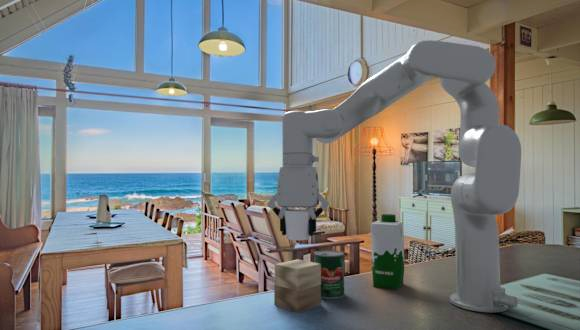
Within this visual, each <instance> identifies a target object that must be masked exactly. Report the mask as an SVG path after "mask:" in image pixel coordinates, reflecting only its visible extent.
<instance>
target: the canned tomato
mask: <svg viewBox="0 0 580 330" xmlns="http://www.w3.org/2000/svg"><path fill="white" fill-rule="evenodd" d="M313 254H314V255H313V257H314V259H313V260H314V261H313V262H314V263H319V264H321V299H325V300H337V299H342V298H344V297H345V260H344V259H345V258H344V255H345V253H344V251H339V250H332V249H331V250H329V249H328V250H325V249H324V250H316V251H314V252H313Z"/></svg>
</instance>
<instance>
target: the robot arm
mask: <svg viewBox="0 0 580 330" xmlns="http://www.w3.org/2000/svg"><path fill="white" fill-rule="evenodd" d="M496 63H497V62H496V59H495V57H494V55H493V54H492V53H491V51H489V50H487V49H486V48H484V47H480V46H477V45H472V44H465V43H464V44H463V43H456V42H448V41H443V40H441V41H440V40H430V39H429V40H422V41H418V42H416V43H414V44H413V45H412V46H411V47H410V48H409V49H408V50H407V52H406V53H405V54H404V55H402V57H400V58H398V59H396V60H395V61H394V62H392V63H390V64H389V65H388V66H386V67H384V68H383V69H382V70H381V71H378V72H377V73H375V74H374V75H373V76H371V77H369V78H368V79H366V80H365V81H364V82H362V84H360V86H359V87H358V88H356V90H355V91H354V92H353V93H352V94H351V95H350V96H348V98H346V99H345V100H344V101H342V102H341V103H340V104H338V105H337V106H335V107H334V108H333V109H332V108H324V109H318V110H311V111H305V110H291V111H287V112H285V113H284V114H283V116H282V167H279V170H278V171H279V172H278V177H277V186H276V187H277V188H276V193H275V194H274V195H273V197H271V198H270V199H269V200H268V202H266V205H267V207H269V208H270V209H271V210H272V211H273V212H274V214H275V215H276V216H277V217H278V219H279V230H280V232H281V235H282V236H286V225H285V216H284V214H285V210H287V209H290V208H292V209H306V208H307V209H308V211H309V213H310V216H311V217H310V220H309V235H310V237H313V236H314V234H315V233H317V218H318V217H319V216H320V215H321V214H322V213H323V212H324V211H325V210H326V209H327V208H328V207H329V206H330V202H329V201H328V200H327V199H326V197H324V196H323V195H322V194H321V193H320V185H319V175H318V169H317V167H316V166H314V164H315V163H317V162H318V163H319V161H320V158H319V156H316V155H314V151H313V149H314V148H313V147H314V145H313V144H314V142H313V141H314V139H315V140H316V141H318V142H320V143H322V144H332V143H334V142H336V141H337V140H338V139H341V137H343V136H344V135H346V134H348V133H349V132H351V131H353V130H354V129H355V128H357V127H358V126H360V125H361V124H363V123H364V122H366V121H367V120H370V118H372V117H374V116H377V115H378V114H379V113H382V112H383V111H384V110H386V109H387V108H389V107H390V106H392V105H393V104H395V103H396V102H398V101H400V100H401V99H402V98H404V97H405V96H407V95H409V94H410V93H412V92H413V91H415V90H416V89H418V88H419V87H421V86H422V85H423V84H425V83H426V82H427V81H429V80H430V79H431V78H438V79H439V82H440V85H441V87H442V89H443V90H444V91H445V92H446V93H447V94H448V95H450V96H451V97H452V98H453V99H454V100H455V101H456V103H457V105H458V107H459V111H460V124H459V139H458V156H459V159H460V161H461V162H462V163H463V164H464V165H466V166H468V167H470V168H471V167H472V168H474V169H475V171H474V172H471V173H465V174H463V175H460V176H459V177H458V178H456V180H455V181H454V183H452V186H451V189H450V201H451V207H452V211H453V212H452V214H453V220H454V240H455V241H454V245H455V248H454V249H455V275H456V276H455V277H456V278H455V279H456V282H455V283H456V284H455V285H456V292H455V293H452V294H450V296H449V301H450V303H451V304H453V305H454V306H456V307H458V308H460V309H461V308H462V309H464V310H467V311H472V312H478V313H489V314H490V313H491V314H492V313H503V312H505V311H508V310H509V307H510V308H514V309H516V308H517V307H518V304H519V303H518V298H517V296H514V295H509V294H508V295H507V293H506V287H502V286H501V266H500V264H501V263H500V235H499V234H500V232H499V225H498V221H497V217H496V216H500V215H503V214H506V213H508V212H509V211H511V210H512V209H513V208H514V206H516V204H517V201H518V197H519V192H520V179H521V165H522V163H521V162H522V145H521V144H522V143H521V142H520V139H519V135H518V134H517V133H516V132H515V130H513V129H512V128H511V127H510V126H508V125H506V124H502V123H500V106H499V101H498V99H497V96H496V95H495V92H493V89H491V88H490V86H488V84H487V83H486V82H487V81H489V80H490V79H491V78H492V77H493V75H494V74H495V71H496V66H497V64H496ZM319 203H321V205H320V206H319V208H317V209H316V208H315V207H317V206H318V205H319Z"/></svg>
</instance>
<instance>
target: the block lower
mask: <svg viewBox="0 0 580 330" xmlns="http://www.w3.org/2000/svg"><path fill="white" fill-rule="evenodd" d="M273 290H274V296H273V297H274V301H273V302H274V303H273V305H274V306H277V307H279V308H282V309H285V310H288V311H291V312H294V313H297V314H299V313H301V312H304V311H307V310H310V309H313V308H315V307H319V306H321V305H322V298H321V285H318V286H315V287H311V288H308V289H304V290H301V291H295V290H291V289H288V288H284V287H281V286H277V285H275V284H274V287H273Z"/></svg>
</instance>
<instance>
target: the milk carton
mask: <svg viewBox="0 0 580 330" xmlns="http://www.w3.org/2000/svg"><path fill="white" fill-rule="evenodd" d="M396 220H397V218H396V214H391V213H390V214H389V213H388V214H387V213H386V214H385V213H384V214H381V220H376V221H373V222H371V223H370V233H371V234H370V236H371V272H372V286H373V288H381V289H390V290H399V289H400V288H401V287H402V285H403V284H404V277H405V275H404V274H405V238H404V222H403V221H399V220H398V221H396Z"/></svg>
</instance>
